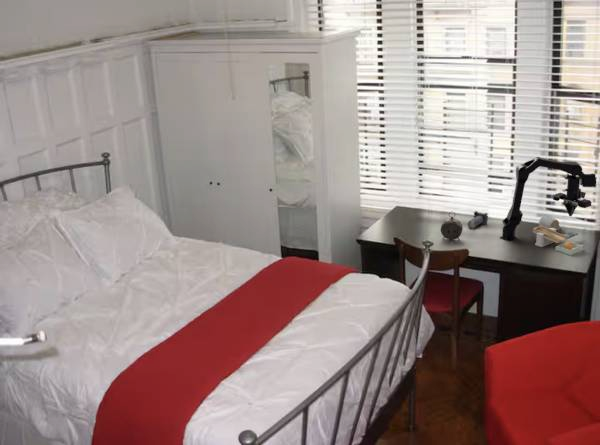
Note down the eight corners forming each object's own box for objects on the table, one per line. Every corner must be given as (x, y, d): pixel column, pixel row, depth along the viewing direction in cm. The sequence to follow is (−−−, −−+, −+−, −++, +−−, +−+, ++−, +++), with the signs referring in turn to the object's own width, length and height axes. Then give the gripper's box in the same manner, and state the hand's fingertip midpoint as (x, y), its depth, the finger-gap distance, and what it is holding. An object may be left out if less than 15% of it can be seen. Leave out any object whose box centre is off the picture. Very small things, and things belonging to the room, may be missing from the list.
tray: (571, 255, 342) (571, 250, 341) (555, 250, 349) (555, 244, 348) (583, 250, 347) (583, 244, 346) (567, 245, 354) (567, 239, 353)
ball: (563, 250, 348) (570, 250, 345) (562, 242, 348) (569, 242, 344) (568, 248, 350) (575, 248, 347) (567, 240, 350) (574, 240, 346)
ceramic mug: (550, 234, 369) (552, 220, 367) (537, 230, 376) (539, 216, 373) (563, 229, 375) (564, 216, 372) (550, 225, 381) (551, 212, 379)
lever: (556, 248, 350) (558, 239, 347) (531, 237, 360) (532, 228, 358) (576, 239, 359) (578, 230, 357) (551, 228, 370) (553, 220, 368)
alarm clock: (462, 239, 368) (463, 210, 363) (461, 243, 364) (462, 214, 358) (441, 238, 372) (442, 209, 366) (439, 241, 367) (440, 212, 362)
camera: (476, 223, 393) (465, 231, 385) (473, 210, 391) (463, 218, 383) (490, 224, 387) (480, 231, 379) (488, 210, 385) (477, 218, 377)
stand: (541, 247, 353) (542, 235, 351) (535, 245, 357) (535, 233, 354) (556, 241, 360) (557, 229, 358) (549, 239, 363) (550, 227, 361)
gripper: (599, 187, 351) (596, 217, 356) (566, 180, 365) (564, 208, 370) (586, 192, 345) (583, 222, 350) (553, 184, 359) (551, 213, 365)
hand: (570, 216), depth 359 cm, fingers closed
